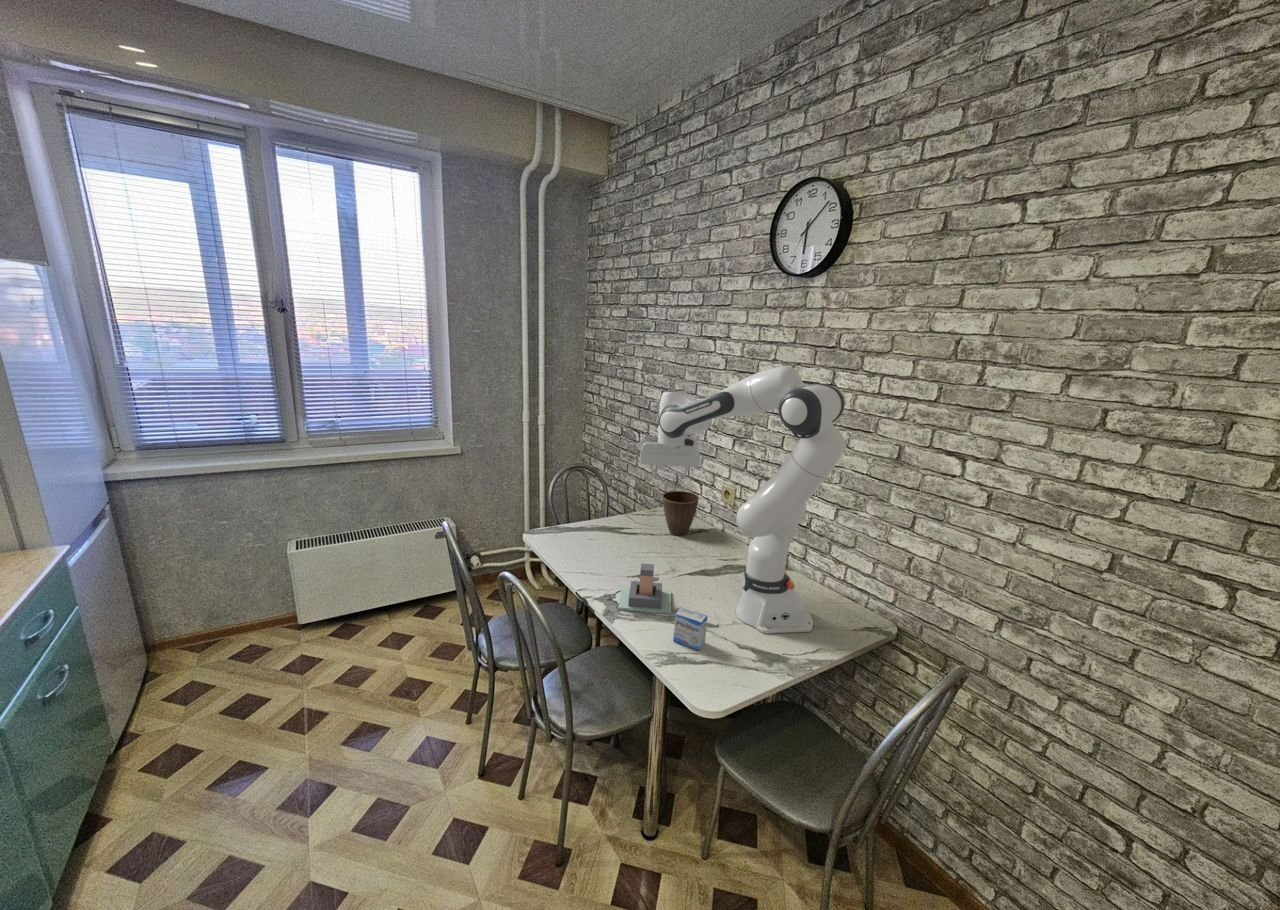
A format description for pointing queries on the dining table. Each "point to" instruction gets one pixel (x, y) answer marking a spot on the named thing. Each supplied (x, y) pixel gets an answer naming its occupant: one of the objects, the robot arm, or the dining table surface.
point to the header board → (664, 602)
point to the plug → (646, 579)
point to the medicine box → (690, 628)
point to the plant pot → (679, 511)
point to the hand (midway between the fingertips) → (668, 477)
